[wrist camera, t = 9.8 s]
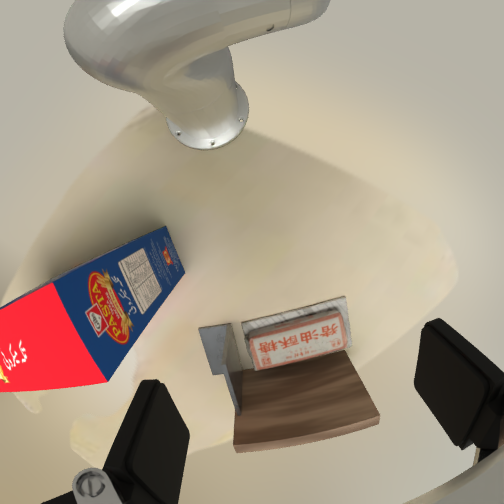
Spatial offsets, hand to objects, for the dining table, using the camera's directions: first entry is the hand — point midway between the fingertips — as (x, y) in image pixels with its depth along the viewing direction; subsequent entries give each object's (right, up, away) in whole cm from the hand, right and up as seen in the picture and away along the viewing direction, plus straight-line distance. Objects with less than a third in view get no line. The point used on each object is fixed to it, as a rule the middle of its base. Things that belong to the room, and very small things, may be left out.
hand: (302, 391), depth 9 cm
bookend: (-7, -12, +38) cm, 41 cm away
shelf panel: (+6, -16, +39) cm, 43 cm away
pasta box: (-27, 0, +35) cm, 44 cm away
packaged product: (+6, -9, +38) cm, 40 cm away
